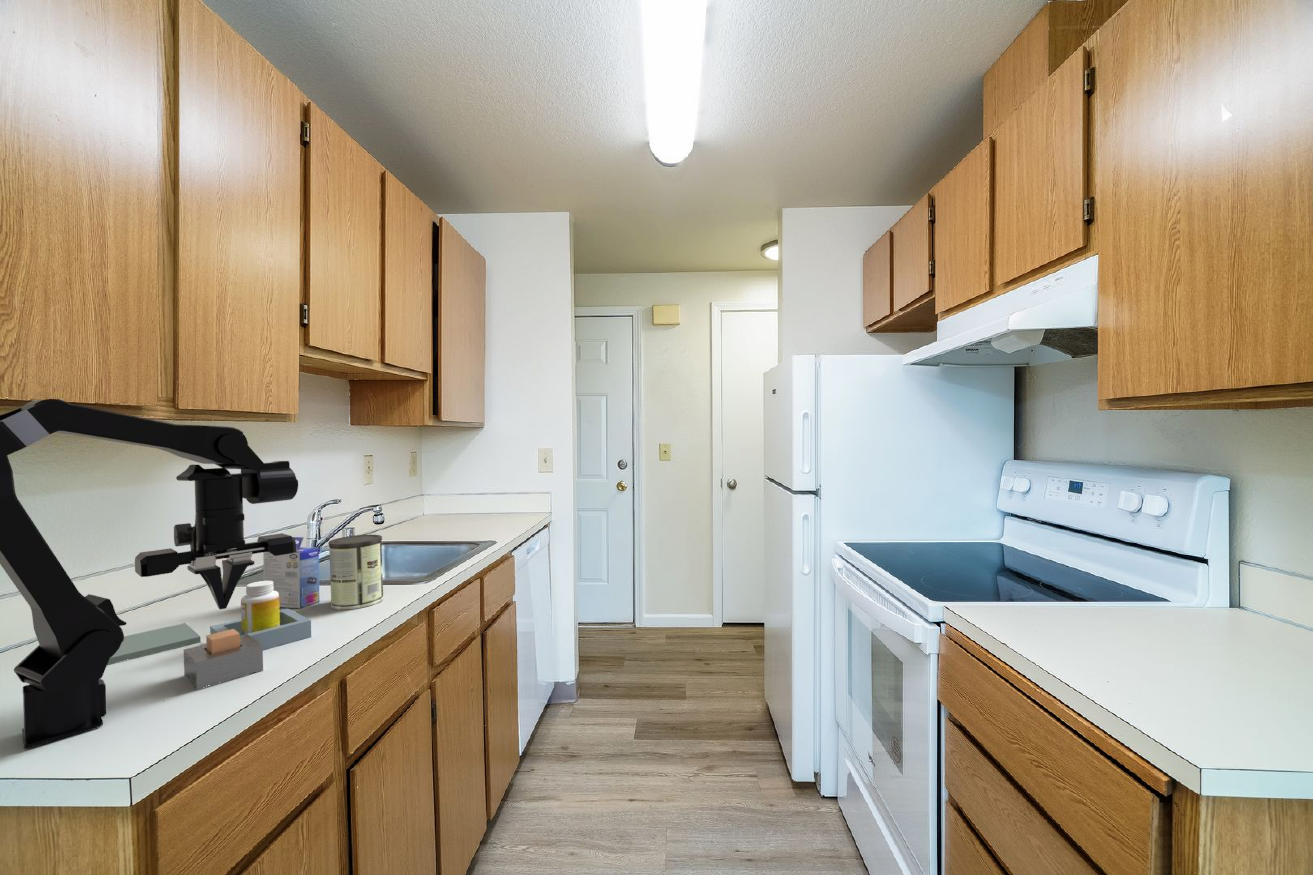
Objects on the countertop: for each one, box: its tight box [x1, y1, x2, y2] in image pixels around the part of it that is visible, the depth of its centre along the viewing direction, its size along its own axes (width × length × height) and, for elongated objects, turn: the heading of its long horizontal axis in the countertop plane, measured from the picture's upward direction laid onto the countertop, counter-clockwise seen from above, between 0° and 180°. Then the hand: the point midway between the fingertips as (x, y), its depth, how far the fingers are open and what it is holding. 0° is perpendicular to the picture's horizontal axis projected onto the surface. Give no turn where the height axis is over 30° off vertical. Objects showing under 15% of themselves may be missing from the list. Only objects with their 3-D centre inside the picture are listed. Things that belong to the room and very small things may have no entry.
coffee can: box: [328, 534, 384, 611], centre depth 118 cm, size 10×10×14 cm
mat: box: [108, 622, 202, 665], centre depth 96 cm, size 12×12×1 cm
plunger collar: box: [183, 634, 264, 690], centre depth 83 cm, size 8×8×4 cm
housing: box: [209, 607, 312, 651], centre depth 97 cm, size 12×12×3 cm
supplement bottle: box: [240, 580, 280, 635], centre depth 97 cm, size 6×6×10 cm
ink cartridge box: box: [262, 536, 320, 609], centre depth 118 cm, size 10×6×14 cm, turn 78°
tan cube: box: [205, 629, 240, 655], centre depth 83 cm, size 3×3×3 cm
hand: (222, 608), depth 83 cm, fingers closed
